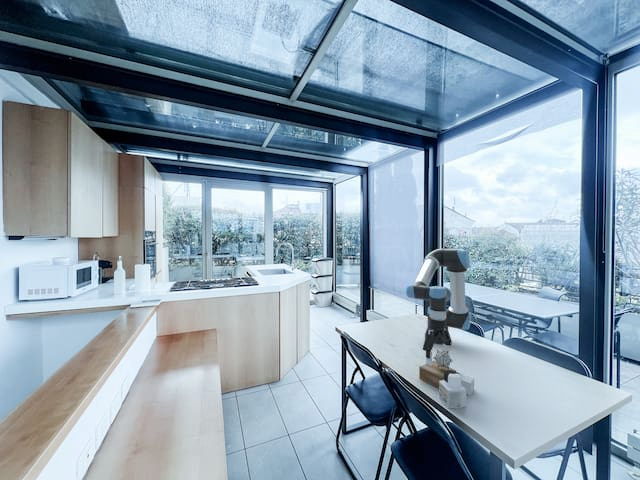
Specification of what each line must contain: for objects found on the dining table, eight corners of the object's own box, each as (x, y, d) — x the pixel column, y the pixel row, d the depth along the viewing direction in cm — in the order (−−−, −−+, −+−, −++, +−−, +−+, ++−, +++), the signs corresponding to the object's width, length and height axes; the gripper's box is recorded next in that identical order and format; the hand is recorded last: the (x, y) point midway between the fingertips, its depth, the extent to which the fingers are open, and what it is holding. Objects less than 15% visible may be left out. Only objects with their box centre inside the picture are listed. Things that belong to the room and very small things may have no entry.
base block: (434, 372, 137) (434, 360, 137) (456, 382, 127) (456, 370, 127) (419, 378, 131) (419, 366, 131) (441, 390, 121) (441, 377, 121)
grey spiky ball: (448, 376, 124) (459, 359, 124) (432, 365, 125) (444, 348, 125) (441, 369, 132) (452, 353, 133) (427, 359, 134) (437, 342, 134)
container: (438, 397, 115) (438, 368, 115) (455, 396, 116) (455, 367, 116) (448, 409, 108) (448, 377, 107) (466, 408, 108) (466, 376, 108)
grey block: (459, 385, 125) (459, 373, 125) (474, 390, 121) (474, 377, 120) (456, 391, 120) (456, 378, 120) (470, 396, 116) (470, 383, 116)
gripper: (445, 312, 139) (445, 352, 139) (414, 320, 125) (414, 364, 125) (459, 316, 132) (459, 357, 132) (428, 324, 119) (428, 371, 119)
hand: (437, 361), depth 129 cm, fingers open, 13 cm apart
